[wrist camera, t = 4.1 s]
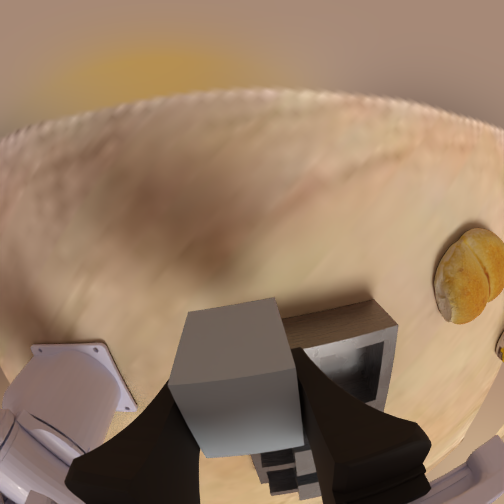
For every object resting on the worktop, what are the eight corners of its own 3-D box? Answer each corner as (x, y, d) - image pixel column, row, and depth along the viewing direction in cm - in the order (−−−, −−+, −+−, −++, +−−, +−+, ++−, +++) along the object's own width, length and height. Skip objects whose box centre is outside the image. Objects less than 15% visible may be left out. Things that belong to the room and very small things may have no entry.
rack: (258, 471, 27) (262, 510, 21) (216, 329, 20) (211, 384, 15) (356, 450, 27) (370, 486, 21) (374, 299, 20) (412, 340, 15)
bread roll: (496, 277, 21) (520, 291, 18) (439, 327, 22) (462, 348, 18) (485, 207, 19) (516, 216, 15) (422, 258, 20) (452, 276, 16)
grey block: (211, 383, 14) (206, 458, 9) (188, 311, 13) (167, 385, 8) (285, 371, 14) (304, 445, 9) (274, 297, 13) (296, 367, 8)
